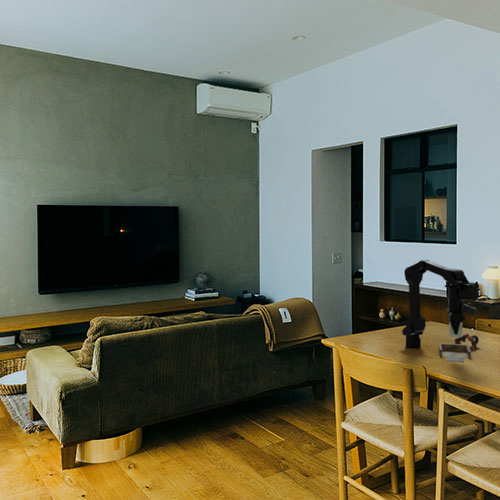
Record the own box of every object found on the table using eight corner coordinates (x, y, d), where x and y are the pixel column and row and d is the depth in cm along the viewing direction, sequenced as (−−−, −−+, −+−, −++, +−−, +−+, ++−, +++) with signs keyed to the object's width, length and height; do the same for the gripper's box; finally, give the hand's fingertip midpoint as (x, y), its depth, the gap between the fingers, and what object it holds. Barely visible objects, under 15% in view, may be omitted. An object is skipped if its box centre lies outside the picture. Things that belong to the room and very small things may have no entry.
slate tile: (446, 361, 226) (446, 360, 226) (445, 357, 232) (445, 356, 232) (463, 362, 223) (463, 361, 223) (462, 358, 230) (462, 357, 230)
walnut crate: (439, 357, 233) (439, 349, 233) (438, 350, 246) (438, 343, 246) (470, 359, 229) (470, 351, 229) (468, 352, 242) (468, 345, 242)
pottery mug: (469, 353, 242) (460, 337, 244) (457, 357, 250) (448, 342, 253) (487, 344, 246) (478, 328, 249) (474, 348, 255) (466, 333, 257)
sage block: (450, 336, 226) (450, 323, 226) (449, 334, 231) (449, 321, 231) (462, 337, 225) (462, 323, 225) (461, 335, 230) (461, 321, 229)
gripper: (477, 301, 216) (478, 338, 217) (472, 296, 234) (472, 330, 235) (449, 300, 219) (449, 337, 220) (446, 295, 237) (446, 329, 238)
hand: (455, 333), depth 228 cm, fingers closed on sage block, 5 cm apart
